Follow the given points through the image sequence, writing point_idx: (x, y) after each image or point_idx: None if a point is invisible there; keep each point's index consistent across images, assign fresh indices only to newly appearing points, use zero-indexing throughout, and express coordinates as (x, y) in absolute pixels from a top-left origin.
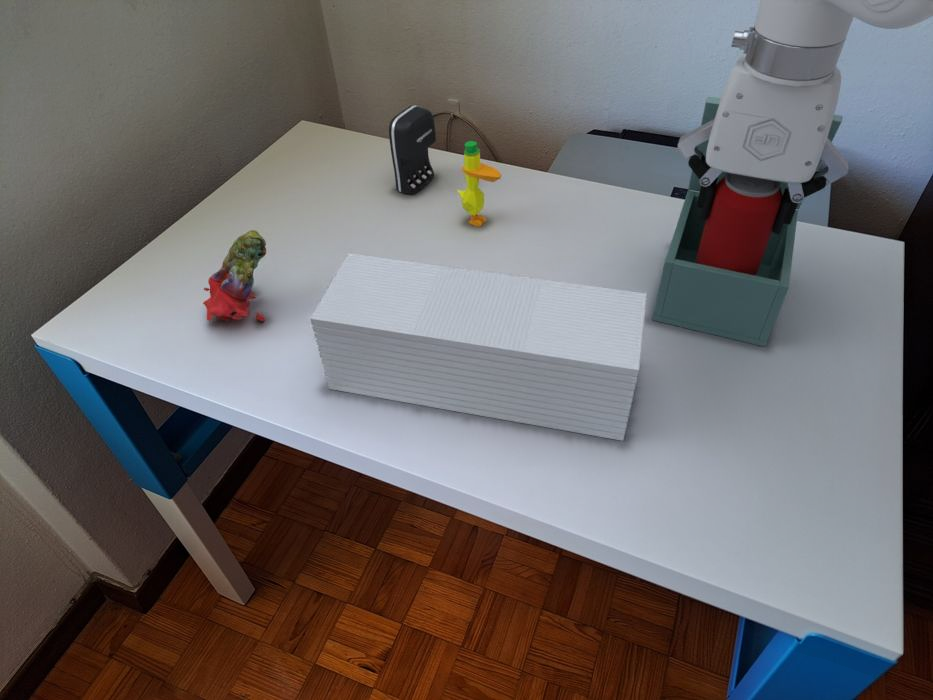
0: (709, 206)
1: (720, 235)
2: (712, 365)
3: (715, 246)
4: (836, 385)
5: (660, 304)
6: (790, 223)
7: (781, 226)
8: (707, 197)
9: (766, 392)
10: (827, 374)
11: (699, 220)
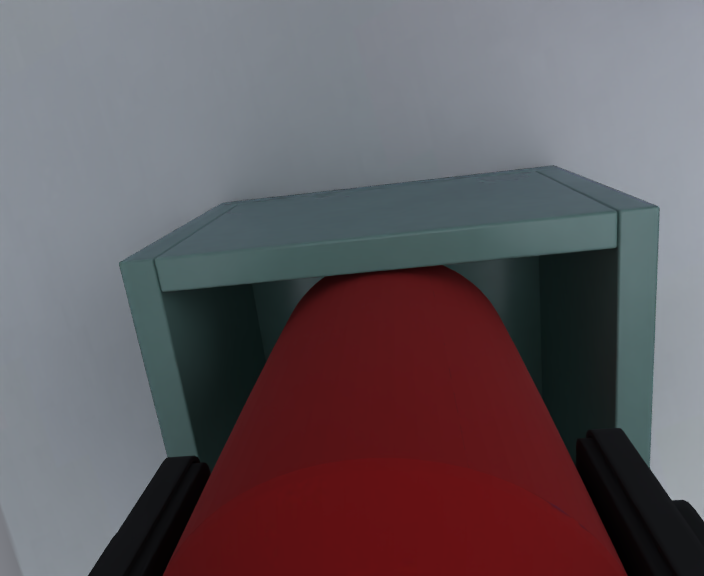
0: (617, 497)
1: (465, 348)
2: (332, 53)
3: (465, 323)
4: (16, 141)
5: (560, 175)
6: None
7: (151, 489)
8: (683, 544)
9: (163, 16)
10: (48, 173)
11: None
